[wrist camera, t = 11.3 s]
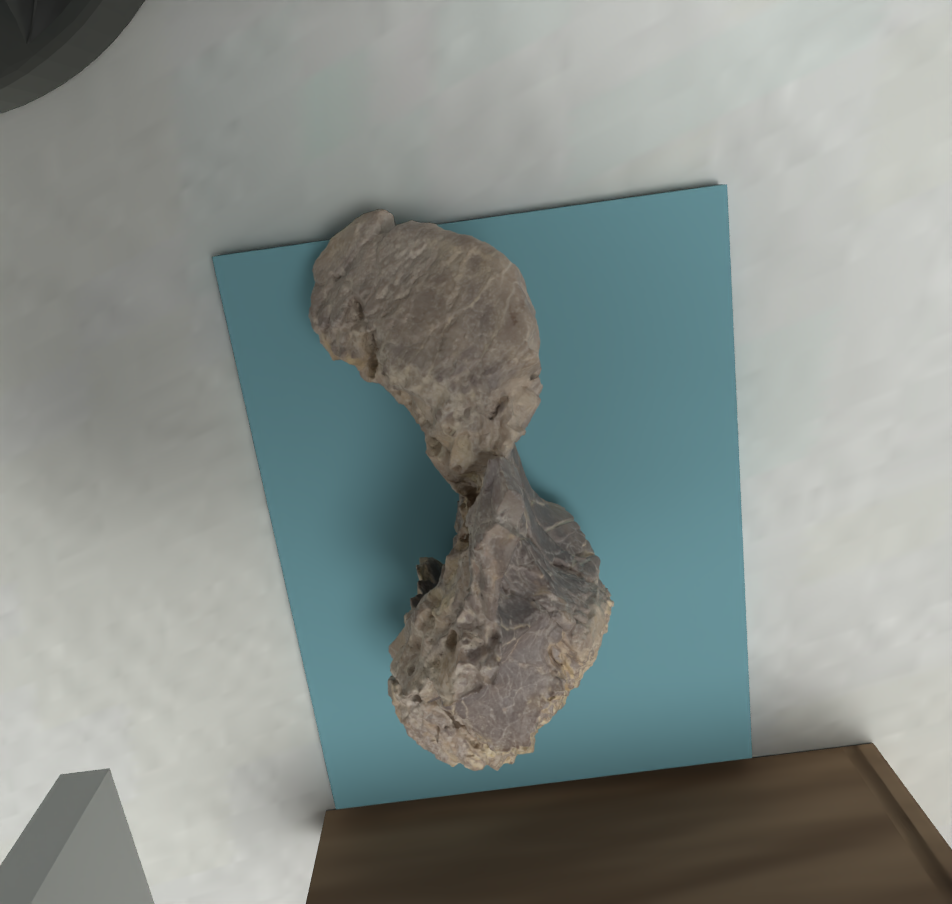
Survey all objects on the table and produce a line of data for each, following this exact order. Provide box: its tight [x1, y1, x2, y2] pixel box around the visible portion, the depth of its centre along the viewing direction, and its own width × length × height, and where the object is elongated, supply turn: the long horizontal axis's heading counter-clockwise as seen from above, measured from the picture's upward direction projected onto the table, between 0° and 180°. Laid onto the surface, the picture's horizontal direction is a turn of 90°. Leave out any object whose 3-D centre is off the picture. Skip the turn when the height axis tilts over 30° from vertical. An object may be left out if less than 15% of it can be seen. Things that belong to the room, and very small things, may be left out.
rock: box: [308, 209, 614, 771], centre depth 20 cm, size 6×14×7 cm, turn 10°
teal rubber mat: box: [212, 185, 752, 809], centre depth 24 cm, size 17×13×1 cm
